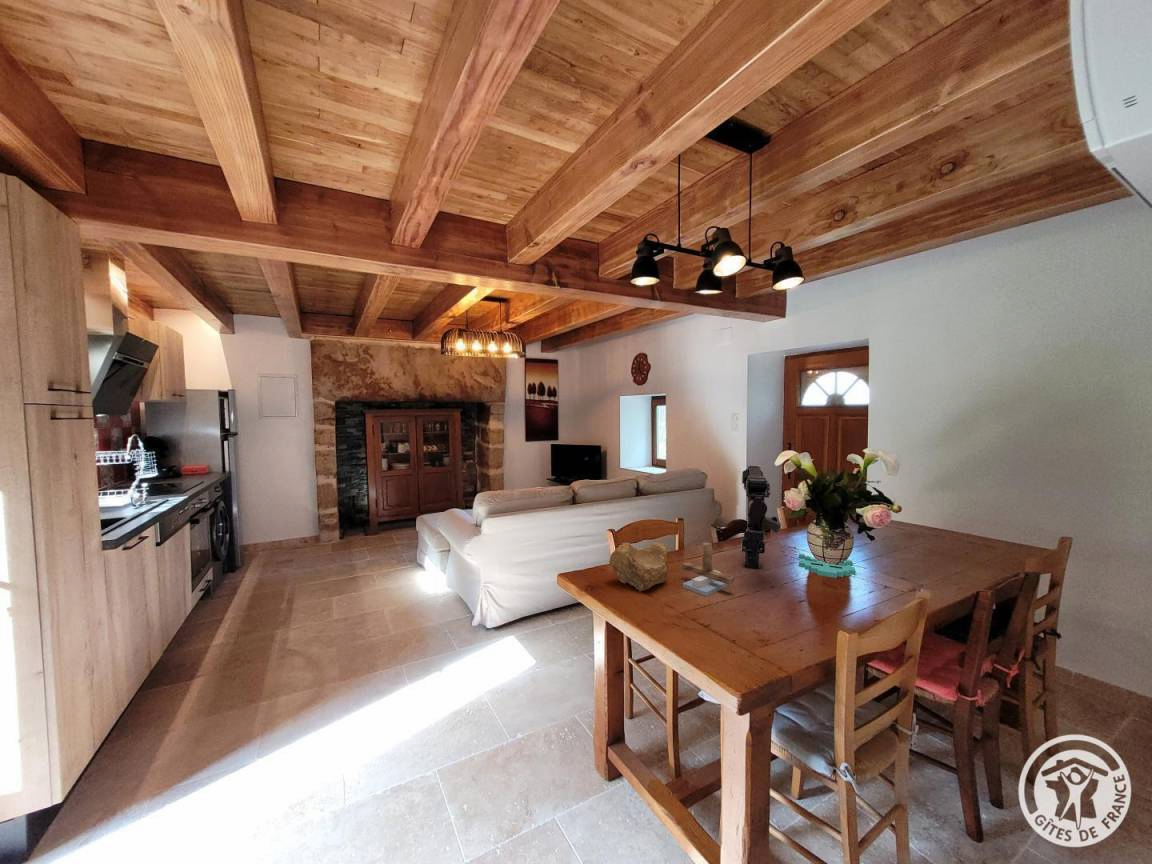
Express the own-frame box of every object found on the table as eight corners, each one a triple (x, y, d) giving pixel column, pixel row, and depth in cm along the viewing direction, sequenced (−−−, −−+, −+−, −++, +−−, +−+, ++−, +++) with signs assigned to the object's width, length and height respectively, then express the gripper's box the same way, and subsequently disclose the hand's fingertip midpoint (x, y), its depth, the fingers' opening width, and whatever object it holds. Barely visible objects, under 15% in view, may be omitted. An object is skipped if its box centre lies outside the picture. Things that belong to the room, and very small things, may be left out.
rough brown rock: (622, 600, 149) (625, 559, 148) (604, 578, 165) (607, 541, 163) (680, 593, 157) (684, 554, 155) (658, 573, 172) (661, 537, 170)
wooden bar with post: (682, 568, 166) (682, 538, 165) (687, 567, 168) (687, 536, 167) (729, 585, 150) (729, 551, 150) (734, 582, 152) (734, 549, 152)
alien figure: (798, 558, 191) (798, 573, 173) (799, 553, 191) (798, 567, 173) (851, 565, 182) (857, 582, 164) (852, 560, 182) (857, 576, 164)
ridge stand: (707, 576, 168) (707, 566, 168) (730, 584, 160) (730, 574, 160) (682, 587, 158) (682, 576, 158) (706, 596, 150) (706, 585, 150)
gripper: (779, 518, 150) (778, 561, 151) (779, 507, 167) (778, 546, 168) (745, 514, 155) (745, 557, 156) (749, 504, 172) (748, 543, 172)
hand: (755, 550), depth 163 cm, fingers open, 9 cm apart
